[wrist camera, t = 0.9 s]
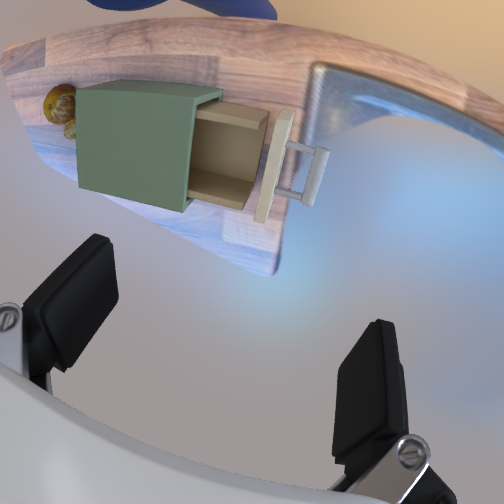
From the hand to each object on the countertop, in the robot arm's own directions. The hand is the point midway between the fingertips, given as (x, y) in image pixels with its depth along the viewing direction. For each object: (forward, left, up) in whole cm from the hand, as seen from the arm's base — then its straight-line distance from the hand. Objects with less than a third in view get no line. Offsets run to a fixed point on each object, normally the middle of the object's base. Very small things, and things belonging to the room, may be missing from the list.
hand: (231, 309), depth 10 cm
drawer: (+3, -4, -26) cm, 26 cm away
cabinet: (+3, -15, -27) cm, 31 cm away
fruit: (+2, -30, -27) cm, 40 cm away
